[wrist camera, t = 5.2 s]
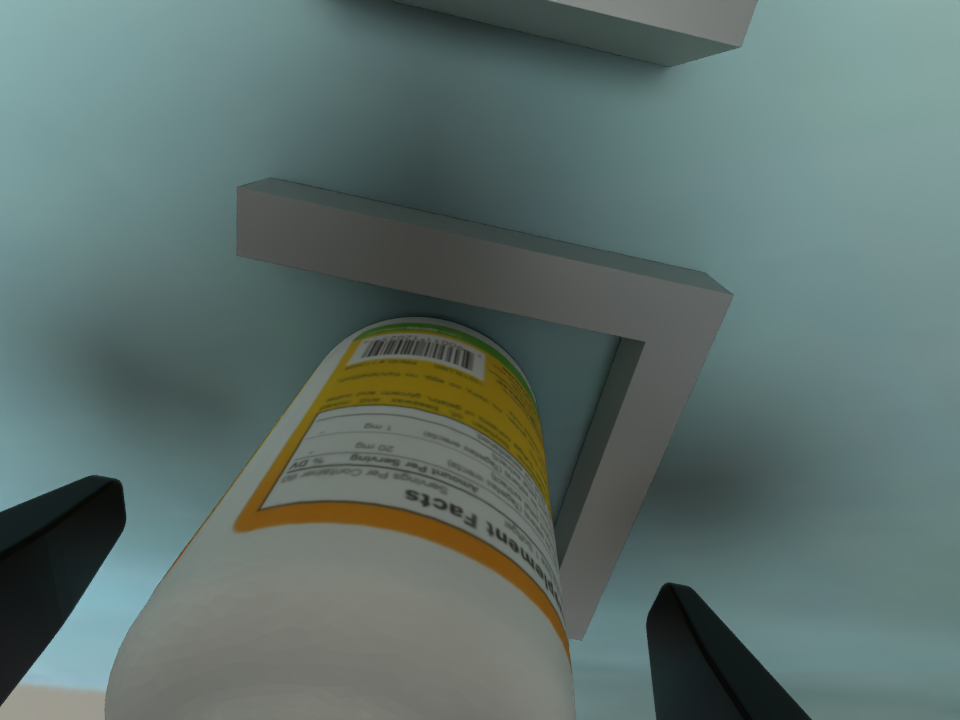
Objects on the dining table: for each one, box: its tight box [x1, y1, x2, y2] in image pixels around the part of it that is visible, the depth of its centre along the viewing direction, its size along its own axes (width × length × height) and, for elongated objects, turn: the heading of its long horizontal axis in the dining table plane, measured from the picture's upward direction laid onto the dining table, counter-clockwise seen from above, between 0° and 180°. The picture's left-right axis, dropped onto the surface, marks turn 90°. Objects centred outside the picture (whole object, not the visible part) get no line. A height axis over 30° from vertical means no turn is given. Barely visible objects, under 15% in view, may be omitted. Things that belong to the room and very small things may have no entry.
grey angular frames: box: [237, 0, 758, 641], centre depth 9 cm, size 9×19×4 cm, turn 168°
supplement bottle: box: [105, 317, 576, 720], centre depth 8 cm, size 5×5×10 cm
